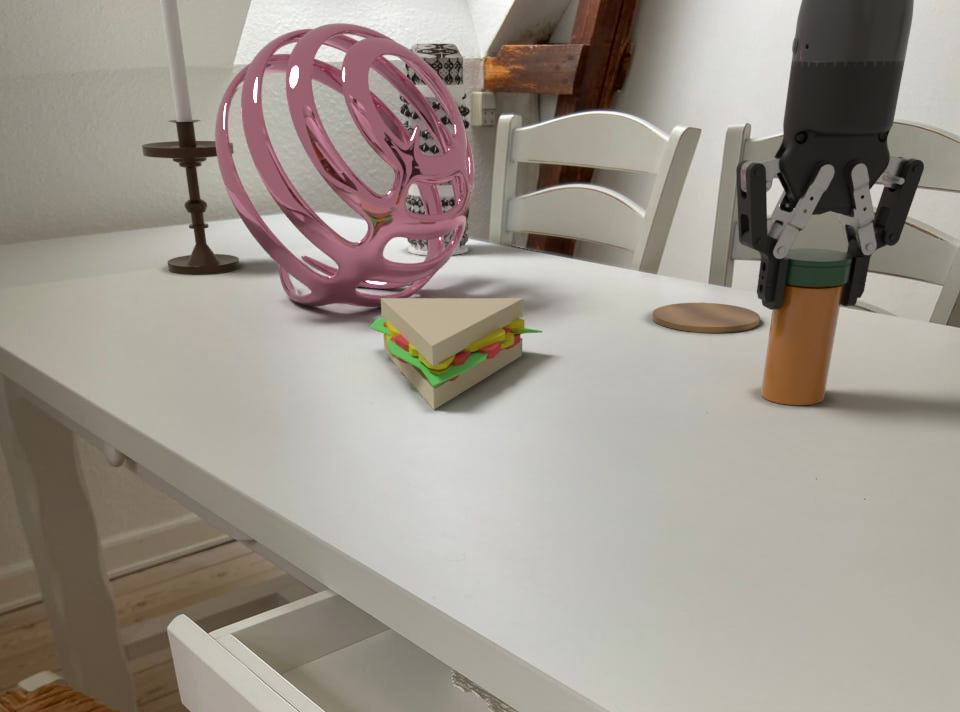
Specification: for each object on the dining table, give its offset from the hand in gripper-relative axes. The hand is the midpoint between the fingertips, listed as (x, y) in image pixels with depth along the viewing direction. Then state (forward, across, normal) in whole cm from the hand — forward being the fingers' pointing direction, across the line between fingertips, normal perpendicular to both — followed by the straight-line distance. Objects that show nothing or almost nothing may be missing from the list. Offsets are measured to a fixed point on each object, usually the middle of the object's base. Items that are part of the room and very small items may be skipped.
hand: (808, 304), depth 78 cm
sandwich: (+7, -28, +12) cm, 31 cm away
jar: (+7, 0, 0) cm, 7 cm away
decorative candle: (+7, -18, +73) cm, 76 cm away
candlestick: (+7, -50, +67) cm, 84 cm away
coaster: (+7, +3, +27) cm, 28 cm away
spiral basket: (+7, -32, +43) cm, 54 cm away
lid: (-3, 0, 0) cm, 3 cm away
